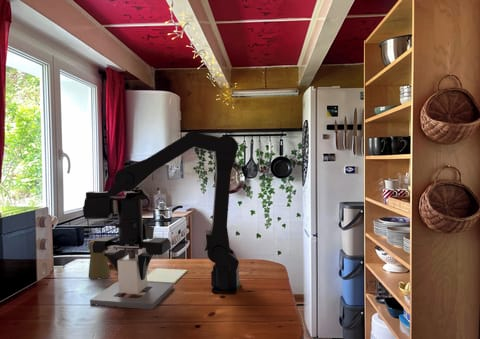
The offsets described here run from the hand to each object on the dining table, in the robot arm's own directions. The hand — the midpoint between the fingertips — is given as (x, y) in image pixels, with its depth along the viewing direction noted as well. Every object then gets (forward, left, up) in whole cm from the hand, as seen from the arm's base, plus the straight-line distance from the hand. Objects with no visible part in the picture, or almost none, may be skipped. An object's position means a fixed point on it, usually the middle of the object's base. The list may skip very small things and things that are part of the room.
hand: (133, 279), depth 83 cm
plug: (0, 0, -3) cm, 3 cm away
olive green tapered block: (+18, -12, -5) cm, 22 cm away
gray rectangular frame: (0, 0, -4) cm, 4 cm away
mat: (-2, -14, -4) cm, 15 cm away
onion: (+20, -22, -5) cm, 30 cm away
